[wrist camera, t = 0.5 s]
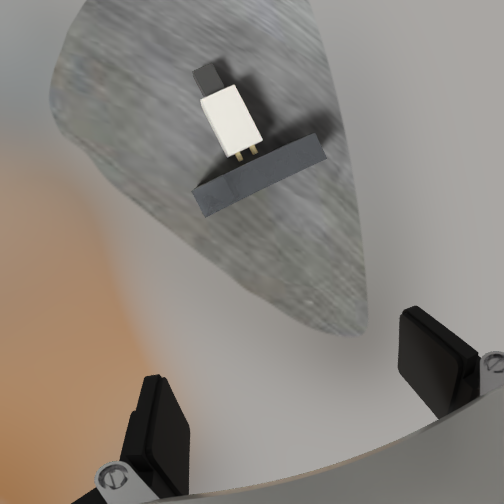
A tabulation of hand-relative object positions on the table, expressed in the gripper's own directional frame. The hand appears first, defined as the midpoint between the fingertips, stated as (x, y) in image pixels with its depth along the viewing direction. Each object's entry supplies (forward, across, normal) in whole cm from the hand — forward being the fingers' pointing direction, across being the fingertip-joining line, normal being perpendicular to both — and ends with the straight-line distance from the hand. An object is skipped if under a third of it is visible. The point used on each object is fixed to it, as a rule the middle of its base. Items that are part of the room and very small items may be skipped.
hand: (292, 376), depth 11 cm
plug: (+28, -1, -15) cm, 32 cm away
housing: (+28, -4, -6) cm, 29 cm away
